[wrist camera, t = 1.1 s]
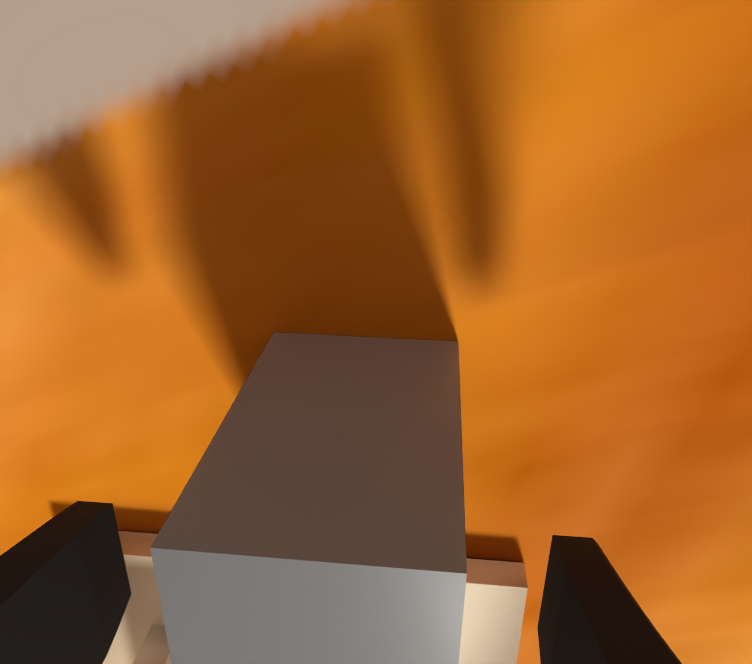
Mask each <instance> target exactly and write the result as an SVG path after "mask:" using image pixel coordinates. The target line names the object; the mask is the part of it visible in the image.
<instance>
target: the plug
mask: <svg viewBox="0 0 752 664" xmlns="http://www.w3.org/2000/svg"><path fill="white" fill-rule="evenodd" d="M150 550H151V555H152V561H153V566H154V572H155V577H156V582H157V588H158V593H159V599H160V604H161V609H162V615H163V620H164V626H165V631H166V636H167V642H168V647H169V653H170V658H171V663H172V664H459V654H460V643H461V632H462V621H463V610H464V599H465V588H466V577H467V564H466V537H465V510H464V482H463V455H462V428H461V401H460V373H459V346H458V341H439V340H419V339H399V338H380V337H360V336H340V335H320V334H301V333H281V332H274V333H273V334H272V336H271V338H270V340H269V341H268V343H267V345H266V347H265V348H264V350H263V352H262V354H261V355H260V357H259V359H258V361H257V362H256V364H255V366H254V368H253V369H252V371H251V373H250V374H249V376H248V378H247V380H246V381H245V383H244V385H243V387H242V388H241V390H240V392H239V394H238V395H237V397H236V399H235V401H234V402H233V404H232V406H231V408H230V409H229V411H228V413H227V415H226V416H225V418H224V420H223V422H222V423H221V425H220V427H219V429H218V430H217V432H216V434H215V436H214V437H213V439H212V441H211V443H210V444H209V446H208V448H207V449H206V451H205V453H204V455H203V456H202V458H201V460H200V462H199V463H198V465H197V467H196V469H195V470H194V472H193V474H192V476H191V477H190V479H189V481H188V483H187V484H186V486H185V488H184V490H183V491H182V493H181V495H180V497H179V498H178V500H177V502H176V504H175V505H174V507H173V509H172V511H171V512H170V514H169V516H168V518H167V519H166V521H165V523H164V524H163V526H162V528H161V530H160V531H159V533H158V535H157V537H156V538H155V540H154V542H153V544H152V545H151V547H150Z"/></svg>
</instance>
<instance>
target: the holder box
mask: <svg viewBox="0 0 752 664" xmlns="http://www.w3.org/2000/svg"><path fill="white" fill-rule="evenodd" d="M118 532H119V537H120V541H121V546H122V551H123V556H124V560H125V565H126V570H127V575H128V579H129V584H130V589H131V597H130V599H129V602H128V604H127V607H126V610H125V612H124V615H123V617H122V620H121V623H120V625H119V628H118V630H117V633H116V635H115V637H114V640H113V642H112V645H111V647H110V649H109V652H108V654H107V656H106V658H105V660H104V662H103V664H172V663H171V658H170V653H169V647H168V642H167V636H166V631H165V626H164V620H163V615H162V609H161V604H160V599H159V593H158V588H157V582H156V577H155V572H154V566H153V561H152V555H151V550H150V547H151V545H152V544H153V542H154V540H155V538H156V537H157V535H158V534H154V533H141V532H128V531H118ZM466 564H467V577H466V588H465V599H464V610H463V621H462V632H461V643H460V654H459V664H516V663H517V657H518V650H519V643H520V636H521V630H522V623H523V616H524V609H525V603H526V596H527V589H528V587H527V580H526V573H525V566H524V563H519V562H507V561H494V560H482V559H469V558H466Z"/></svg>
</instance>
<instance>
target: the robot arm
mask: <svg viewBox="0 0 752 664" xmlns="http://www.w3.org/2000/svg"><path fill="white" fill-rule="evenodd" d="M130 597H131V589H130V584H129V579H128V575H127V570H126V565H125V560H124V556H123V551H122V546H121V541H120V537H119V532H118V527H117V522H116V518H115V513H114V508H113V504H112V503H98V502H84V501H77V502H75V503H74V504H72V505H71V506H69V507H68V508H66V509H65V510H63V511H62V512H61V513H59V514H58V515H56V516H55V517H53V518H52V519H51V520H49V521H48V522H46V523H45V524H44V525H42V526H41V527H39V528H38V529H37V530H35V531H34V532H32V533H31V534H30V535H28V536H27V537H26V538H24V539H23V540H21V541H20V542H19V543H17V544H16V545H15V546H13V547H12V548H10V549H9V550H8V551H6V552H5V553H3V554H2V555H1V556H0V664H103V662H104V660H105V658H106V656H107V654H108V652H109V649H110V647H111V645H112V642H113V640H114V637H115V635H116V633H117V630H118V628H119V625H120V623H121V620H122V617H123V615H124V612H125V610H126V607H127V604H128V602H129V599H130ZM538 637H539V648H540V659H541V664H682V663H681V662H680V661H679V659H678V658H677V657H676V655H675V654H674V653H673V651H672V650H671V649H670V647H669V646H668V645H667V643H666V642H665V641H664V639H663V638H662V637H661V635H660V634H659V633H658V631H657V630H656V629H655V627H654V626H653V624H652V623H651V622H650V620H649V619H648V618H647V616H646V615H645V613H644V612H643V610H642V609H641V608H640V606H639V605H638V603H637V602H636V600H635V599H634V598H633V596H632V595H631V593H630V592H629V590H628V589H627V587H626V586H625V584H624V583H623V581H622V580H621V578H620V577H619V575H618V574H617V572H616V571H615V569H614V568H613V566H612V565H611V563H610V562H609V560H608V559H607V557H606V556H605V554H604V553H603V551H602V549H601V548H600V546H599V545H598V544H597V542H596V541H595V540H594V539H593V538H586V537H572V536H558V535H553V536H552V542H551V549H550V555H549V561H548V567H547V573H546V579H545V585H544V591H543V598H542V604H541V610H540V616H539V622H538Z"/></svg>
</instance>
